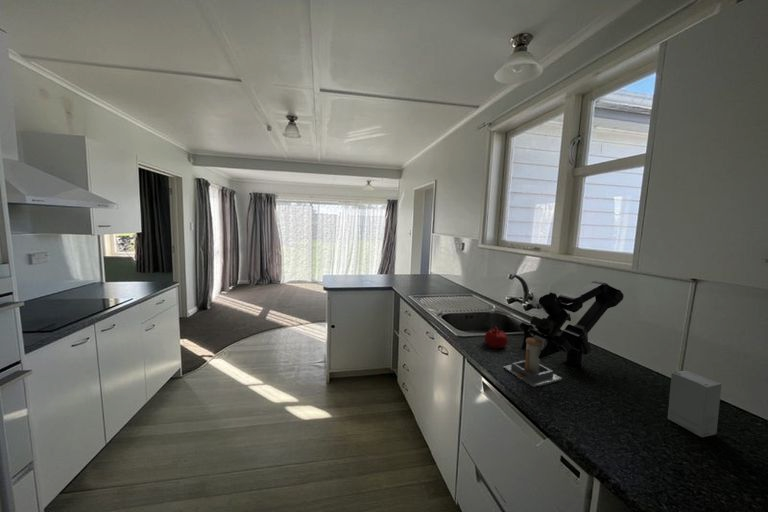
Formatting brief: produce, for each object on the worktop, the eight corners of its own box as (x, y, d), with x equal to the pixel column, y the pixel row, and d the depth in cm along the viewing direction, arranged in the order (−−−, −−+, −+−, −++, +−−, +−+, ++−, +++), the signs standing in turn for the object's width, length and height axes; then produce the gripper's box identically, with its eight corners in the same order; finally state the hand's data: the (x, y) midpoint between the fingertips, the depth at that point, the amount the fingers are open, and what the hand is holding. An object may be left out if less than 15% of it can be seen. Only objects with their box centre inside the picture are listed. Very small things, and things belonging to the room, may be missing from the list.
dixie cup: (550, 350, 128) (552, 329, 127) (535, 352, 126) (537, 330, 125) (537, 342, 136) (538, 322, 135) (521, 344, 134) (523, 323, 133)
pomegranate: (510, 351, 127) (512, 331, 126) (488, 350, 127) (490, 330, 126) (501, 341, 137) (503, 323, 136) (481, 340, 137) (482, 322, 136)
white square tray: (529, 362, 117) (530, 355, 117) (561, 380, 104) (562, 373, 104) (503, 368, 112) (503, 361, 111) (533, 387, 99) (534, 380, 99)
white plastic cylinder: (530, 367, 111) (533, 336, 110) (543, 374, 106) (545, 342, 105) (519, 370, 109) (521, 339, 108) (531, 377, 104) (534, 344, 103)
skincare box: (716, 435, 78) (725, 384, 76) (700, 438, 77) (709, 387, 75) (679, 414, 86) (686, 368, 84) (664, 417, 85) (671, 371, 83)
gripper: (524, 302, 115) (501, 332, 112) (568, 317, 98) (542, 352, 95) (536, 318, 119) (514, 347, 116) (581, 336, 101) (557, 370, 99)
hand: (530, 353), depth 106 cm, fingers open, 7 cm apart
